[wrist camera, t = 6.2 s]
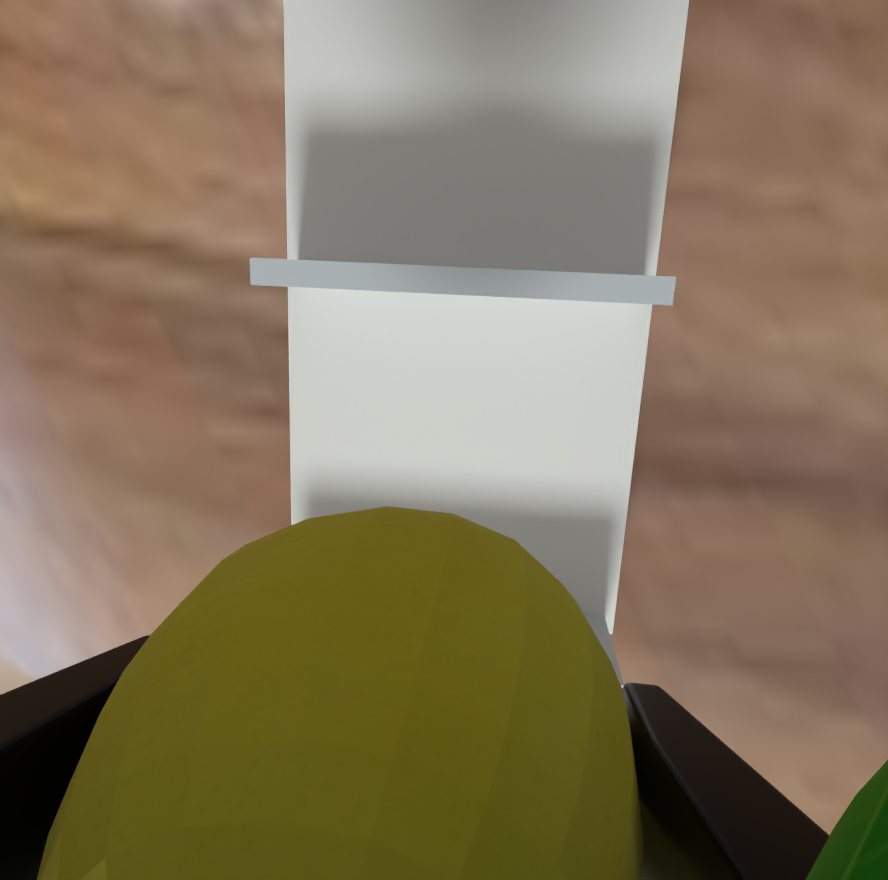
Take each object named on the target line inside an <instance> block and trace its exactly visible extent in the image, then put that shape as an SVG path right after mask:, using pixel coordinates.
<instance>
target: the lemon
mask: <svg viewBox="0 0 888 880" xmlns="http://www.w3.org/2000/svg"><path fill="white" fill-rule="evenodd" d="M643 849H644V839H643V828H642V817H641V806H640V796H639V789H638V781H637V774H636V767H635V760H634V753H633V746H632V739H631V732H630V725H629V720H628V715H627V710H626V705H625V700H624V695H623V690H622V687H621V685H620V682H619V680H618V678H617V675H616V673H615V670H614V668H613V665H612V663H611V661H610V659H609V657H608V655H607V654H606V652H605V650H604V648H603V647H602V645H601V643H600V642H599V640H598V638H597V636H596V635H595V633H594V631H593V630H592V628H591V626H590V624H589V623H588V621H587V619H586V618H585V616H584V614H583V612H582V611H581V609H580V607H579V606H578V604H577V602H576V601H575V599H574V598H573V597H572V595H571V594H570V593H569V592H568V590H567V589H566V588H565V587H564V585H563V584H562V583H561V582H560V581H559V580H558V579H557V578H556V577H554V576H553V575H552V574H551V573H550V572H549V571H548V570H547V569H546V568H545V567H544V566H543V565H541V564H540V563H539V562H538V561H537V560H536V559H535V558H534V557H533V556H532V555H531V554H530V553H529V552H527V551H526V550H525V549H524V548H523V547H522V546H521V545H520V544H519V543H518V542H517V541H516V540H514V539H512V538H510V537H507V536H505V535H502V534H500V533H498V532H495V531H493V530H491V529H488V528H486V527H484V526H481V525H479V524H476V523H474V522H472V521H469V520H467V519H465V518H462V517H460V516H458V515H455V514H452V513H443V512H434V511H425V510H416V509H407V508H398V507H389V506H386V507H380V508H373V509H366V510H360V511H353V512H347V513H340V514H333V515H327V516H321V517H315V518H308V519H305V520H303V521H301V522H298V523H296V524H294V525H291V526H289V527H287V528H284V529H282V530H279V531H277V532H275V533H272V534H270V535H268V536H265V537H263V538H261V539H258V540H256V541H254V542H251V543H249V544H247V545H245V546H243V547H242V548H240V549H239V550H237V551H236V552H234V553H232V554H231V555H229V556H228V557H226V558H225V559H223V560H222V561H221V562H220V563H219V564H218V565H217V566H216V567H215V568H214V569H213V570H212V571H211V572H210V573H209V574H208V575H207V576H206V577H205V578H204V580H203V581H202V582H201V583H200V584H199V585H198V586H197V587H196V588H195V589H194V590H193V591H192V592H191V593H190V594H189V595H188V596H187V597H186V598H185V599H184V600H183V601H182V602H181V603H180V604H179V605H178V606H177V607H176V609H175V610H174V611H173V612H172V613H171V614H170V615H169V616H168V617H167V618H166V619H165V620H164V621H163V622H162V624H161V625H160V626H159V627H158V628H157V629H156V630H155V631H154V632H153V633H152V634H151V635H150V636H149V638H148V639H147V640H146V642H145V643H144V644H143V646H142V647H141V648H140V650H139V651H138V652H137V654H136V655H135V656H134V658H133V659H132V660H131V662H130V663H129V665H128V666H127V667H126V669H125V670H124V671H123V673H122V675H121V677H120V678H119V680H118V682H117V684H116V686H115V687H114V689H113V691H112V693H111V695H110V696H109V698H108V700H107V702H106V704H105V705H104V707H103V709H102V711H101V713H100V714H99V717H98V719H97V721H96V724H95V726H94V728H93V731H92V733H91V735H90V737H89V740H88V742H87V744H86V747H85V749H84V751H83V753H82V756H81V758H80V760H79V763H78V765H77V767H76V769H75V772H74V774H73V776H72V779H71V781H70V783H69V786H68V788H67V790H66V793H65V795H64V798H63V800H62V803H61V805H60V807H59V810H58V812H57V815H56V817H55V819H54V822H53V824H52V827H51V829H50V831H49V834H48V837H47V841H46V845H45V849H44V853H43V857H42V861H41V865H40V869H39V872H38V876H37V880H642V870H643ZM806 880H888V760H887V761H886V762H885V764H884V765H883V766H882V767H881V768H880V769H879V770H878V771H877V772H876V774H875V775H874V776H873V777H872V778H871V779H870V780H869V781H868V782H867V783H866V785H865V786H864V787H863V788H862V789H861V790H860V791H859V792H858V793H857V794H856V796H855V797H854V799H853V800H852V802H851V803H850V805H849V806H848V808H847V809H846V811H845V812H844V814H843V815H842V817H841V818H840V820H839V821H838V823H837V824H836V826H835V827H834V829H833V831H832V832H831V834H830V836H829V838H828V840H827V842H826V843H825V845H824V847H823V849H822V851H821V852H820V854H819V856H818V858H817V860H816V862H815V863H814V865H813V867H812V869H811V871H810V872H809V874H808V876H807V878H806Z"/></svg>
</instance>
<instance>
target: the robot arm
mask: <svg viewBox="0 0 888 880" xmlns="http://www.w3.org/2000/svg"><path fill="white" fill-rule="evenodd" d="M149 636H150V635H149ZM149 636H144V637H141V638H139V639H136V640H134V641H131V642H129V643H126V644H124V645H121V646H119V647H117V648H114V649H112V650H109V651H107V652H104V653H102V654H99V655H97V656H94V657H92V658H90V659H87V660H85V661H82V662H80V663H77V664H75V665H72V666H70V667H67V668H65V669H63V670H60V671H58V672H55V673H53V674H50V675H48V676H45V677H43V678H40V679H38V680H35V681H33V682H31V683H28V684H26V685H23V686H21V687H19V688H16V689H13V690H11V691H9V692H6V693H4V694H1V695H0V880H37V876H38V872H39V869H40V865H41V861H42V857H43V853H44V849H45V845H46V841H47V837H48V834H49V831H50V829H51V827H52V824H53V822H54V819H55V817H56V815H57V812H58V810H59V807H60V805H61V803H62V800H63V798H64V795H65V793H66V790H67V788H68V786H69V783H70V781H71V779H72V776H73V774H74V772H75V769H76V767H77V765H78V763H79V760H80V758H81V756H82V753H83V751H84V749H85V747H86V744H87V742H88V740H89V737H90V735H91V733H92V731H93V728H94V726H95V724H96V721H97V719H98V717H99V714H100V713H101V711H102V709H103V707H104V705H105V704H106V702H107V700H108V698H109V696H110V695H111V693H112V691H113V689H114V687H115V686H116V684H117V682H118V680H119V678H120V677H121V675H122V673H123V671H124V670H125V669H126V667H127V666H128V665H129V663H130V662H131V660H132V659H133V658H134V656H135V655H136V654H137V652H138V651H139V650H140V648H141V647H142V646H143V644H144V643H145V642H146V640H147V639H148V638H149ZM622 690H623V695H624V700H625V705H626V710H627V715H628V720H629V725H630V732H631V739H632V746H633V753H634V760H635V767H636V774H637V781H638V789H639V796H640V806H641V817H642V828H643V839H644V849H643V870H642V880H806V878H807V876H808V874H809V872H810V871H811V869H812V867H813V865H814V863H815V862H816V860H817V858H818V856H819V854H820V852H821V851H822V849H823V847H824V845H825V843H826V842H827V840H828V838H829V835H828V834H827V833H826V832H825V831H824V830H823V829H821V828H820V827H819V826H818V825H817V824H816V823H815V822H813V821H812V820H811V819H810V818H809V817H808V816H807V815H805V814H804V813H803V812H802V811H801V810H800V809H799V808H797V807H796V806H795V805H794V804H793V803H792V802H791V801H789V800H788V799H787V798H786V797H785V796H784V795H783V794H781V793H780V792H779V791H778V790H777V789H776V788H775V787H774V786H772V785H771V784H770V783H769V782H768V781H767V780H766V779H764V778H763V777H762V776H761V775H760V774H759V773H758V772H756V771H755V770H754V769H753V768H752V767H751V766H750V765H748V764H747V763H746V762H745V761H744V760H743V759H742V758H740V757H739V756H738V755H737V754H736V753H735V752H734V751H732V750H731V749H730V748H729V747H728V746H727V745H726V744H724V743H723V742H722V741H721V740H720V739H719V738H718V737H716V736H715V735H714V734H713V733H712V732H711V731H710V730H708V729H707V728H706V727H705V726H704V725H703V724H702V723H700V722H699V721H698V720H697V719H696V718H695V717H694V716H692V715H691V714H690V713H689V712H688V711H687V710H686V709H684V708H683V707H682V706H681V705H680V704H679V703H678V702H677V701H675V700H674V699H673V698H672V697H671V696H670V695H669V694H667V693H666V692H665V691H664V690H663V689H661V688H660V687H659V686H656V685H649V684H638V683H627V684H625V685H624V687H623V688H622Z"/></svg>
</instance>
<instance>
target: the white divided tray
mask: <svg viewBox="0 0 888 880" xmlns="http://www.w3.org/2000/svg"><path fill="white" fill-rule="evenodd" d="M688 5H689V0H284V60H285V127H286V194H287V259H270V258H250V282H251V285H263V286H284V287H288V327H289V394H290V460H291V525H294V524H296V523H298V522H301V521H303V520H305V519H308V518H315V517H321V516H327V515H333V514H340V513H347V512H353V511H360V510H366V509H373V508H380V507H386V506H389V507H398V508H407V509H416V510H425V511H434V512H443V513H452V514H455V515H458V516H460V517H462V518H465V519H467V520H469V521H472V522H474V523H476V524H479V525H481V526H484V527H486V528H488V529H491V530H493V531H495V532H498V533H500V534H502V535H505V536H507V537H510V538H512V539H514V540H516V541H517V542H518V543H519V544H520V545H521V546H522V547H523V548H524V549H525V550H526V551H527V552H529V553H530V554H531V555H532V556H533V557H534V558H535V559H536V560H537V561H538V562H539V563H540V564H541V565H543V566H544V567H545V568H546V569H547V570H548V571H549V572H550V573H551V574H552V575H553V576H554V577H556V578H557V579H558V580H559V581H560V582H561V583H562V584H563V585H564V587H565V588H566V589H567V590H568V592H569V593H570V594H571V595H572V597H573V598H574V599H575V601H576V602H577V604H578V606H579V607H580V609H581V611H582V612H583V614H584V616H585V618H586V619H587V621H588V623H589V624H590V626H591V628H592V630H593V631H594V633H595V635H596V636H597V638H598V640H599V642H600V643H601V645H602V647H603V648H604V650H605V652H606V654H607V655H608V657H609V659H610V661H611V663H612V665H613V668H614V670H615V673H616V675H617V678H618V680H619V682H620V685H621V687H622V688H623V686H624V685H623V682H622V678H621V674H620V671H619V667H618V663H617V660H616V656H615V652H614V649H613V645H612V641H611V638H610V634H612V633H613V625H614V617H615V608H616V600H617V592H618V584H619V575H620V567H621V559H622V551H623V542H624V534H625V526H626V518H627V509H628V501H629V493H630V485H631V476H632V468H633V460H634V451H635V443H636V435H637V427H638V418H639V410H640V402H641V394H642V385H643V377H644V369H645V361H646V352H647V344H648V336H649V328H650V319H651V311H652V304H653V305H673V297H674V290H675V282H676V277H668V276H656V270H657V261H658V253H659V245H660V237H661V228H662V220H663V212H664V204H665V195H666V187H667V179H668V171H669V162H670V154H671V146H672V137H673V129H674V121H675V113H676V104H677V96H678V88H679V80H680V71H681V63H682V55H683V47H684V38H685V30H686V22H687V13H688Z"/></svg>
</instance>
